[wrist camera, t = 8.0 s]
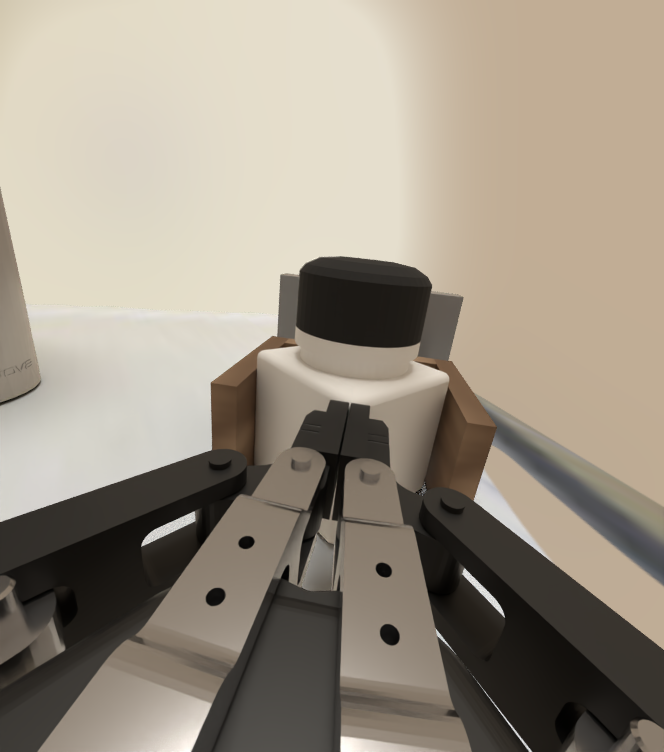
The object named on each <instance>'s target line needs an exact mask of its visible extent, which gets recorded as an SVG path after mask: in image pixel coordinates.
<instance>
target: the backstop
mask: <svg viewBox="0 0 664 752" xmlns="http://www.w3.org/2000/svg"><path fill="white" fill-rule="evenodd" d="M298 287H299V275H294V274H282V275H281V276H280V295H279V296H280V297H279V315H278V334H277V337H282V338H289V339H295V330H296V316H297V301H298ZM462 302H463V297H462V296H460V295H458V294H449V293H441V292H432V291H431V294H430V299H429V303H428V308H427V313H426V318H425V323H424V328H423V332H422V337H421V342H420V347H419V352H418V356H417V357H425V358H432V359H439V360H446V361H448V359H449V355H450V351H451V347H452V343H453V339H454V334H455V330H456V326H457V322H458V317H459V314H460V309H461V306H462Z"/></svg>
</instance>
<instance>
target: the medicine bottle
mask: <svg viewBox="0 0 664 752" xmlns="http://www.w3.org/2000/svg"><path fill="white" fill-rule="evenodd" d="M431 289H432V284H431V282H430V281H429V279H428V277H427V276H425V275H424V274H423V273H421V272H420V271H419V270H417V269H416V268H413V267H409V266H406V265H402V264H398V263H394V262H385V261H378V260H370V259H361V258H352V257H341V256H336V257H318V258H316V259H314V260H311V261H309V262H307V263H305V264H304V265H303V266H302V268H301V269H300V273H299V287H298V301H297V316H296V330H295V342H296V344H297V345H298V346H294V347H286V348H278V349H269V350H262V351H261V352H259V353H258V356H257V378H256V411H255V444H254V465H268V464H273V462H274V461H275V459H276V458H277V456H278V455H279V454H280V453H281V452H282V451H284V450H286V449H289V448H291V446H292V444H293V442H294V440H295V438H296V436H297V434H298V431H299V430H300V427H301V425H302V424H303V421H304V419H305V416H306V415H307V414H309V413H310V412H312V411H313V410H319V411H325V412H326V410H327V407H328V405H329V402H330V399H331V400H337V401H343V402H349V410H350V405H351V403H357V404H363V405H369V406H370V415H369V419H376V420H382V421H383V422H384V423H385V424H386V426H387V427H388V428H389V448H390V468H391V470H392V471H393V472H394V475H395V479H396V482H397V483H398V484H400V485H401V486H402V487H404V488H406V489H407V490H409V491H411V492H414V493H415V492H417V491H418V490H420V489H421V488H422V486H423V484H424V480H425V476H426V472H427V468H428V464H429V460H430V456H431V452H432V448H433V444H434V440H435V436H436V432H437V428H438V424H439V420H440V416H441V412H442V408H443V404H444V400H445V396H446V392H447V388H448V384H449V376H448V375H447V373H445V372H442V371H439V370H436V369H434V368H431V367H428V366H426V365H423V364H420V363H417V362H415V361H413V360H414V359H416V358H417V356H418V352H419V347H420V342H421V337H422V332H423V328H424V323H425V318H426V313H427V308H428V303H429V299H430V294H431ZM349 410H348V415H349ZM347 420H348V417H347ZM346 425H347V424H346ZM336 485H337V483H336ZM335 492H336V488H335ZM334 499H335V493H334V498H333V504H332V509H331V514H330V519H329V520H328V519H323V518H322V521H321V526H320V529H319V531H318V532H319V533H320V534H321V535H322V536H323V537H324V538H325V539H326V541H327V542H329V543H331V544H334V543H335V536H336V529H337V522H338V521H334V520H332V514H333V507H334Z"/></svg>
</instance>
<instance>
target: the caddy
mask: <svg viewBox="0 0 664 752" xmlns="http://www.w3.org/2000/svg"><path fill="white" fill-rule="evenodd" d="M294 346H298V345H297V344H296V342H295V339H289V338H282V337H275V336H272V337H271V338H269V339H268V340H267V341H265V342H264V343H263V344H261V345H260V346H259V347H257V348H256V349H255V350H253V351H252V352H251V353H249V354H248V355H247V356H245V357H244V358H243V359H242V360H240V361H239V362H238V363H236V364H235V365H234V366H232V367H231V368H230V369H228V370H227V371H226V372H224V373H223V374H222V375H220V376H219V377H218V378H216V379H215V380H214V381H212V382H211V414H212V450H216V449H231V450H235V451H238V452H240V453H242V454H243V455H244V456H245V457H246V459H247V466H254V444H255V411H256V378H257V356H258V353H259V352H261V351H262V350H269V349H278V348H286V347H294ZM413 361H415V362H417V363H420V364H423V365H426V366H428V367H431V368H434V369H436V370H439V371H442V372H445V373H447V375H448V376H449V384H448V388H447V392H446V396H445V400H444V404H443V408H442V412H441V416H440V420H439V424H438V428H437V432H436V436H435V440H434V444H433V448H432V452H431V456H430V460H429V464H428V468H427V472H426V476H425V481H426V486H427V491H428V490H429V489H431V488H435V487H445V488H450V489H453V490H456V491H459V492H461V493H463V494H464V495H466V496H467V497H469V498H470V499H471V500H474V497H475V494H476V491H477V488H478V485H479V482H480V478H481V475H482V472H483V469H484V466H485V463H486V459H487V457H488V453H489V450H490V447H491V444H492V441H493V438H494V435H495V432H496V429H497V427H496V425H495V424H494V422H493V421H492V419H491V418H490V416H489V415H488V413H487V412H486V410H485V409H484V408H483V406H482V405H481V403H480V402H479V400H478V399H477V397H476V396H475V394H474V393H473V392H472V390H471V389H470V387H469V386H468V384H467V383H466V381H465V380H464V378H463V377H462V375H461V374H460V373H459V371H458V370H457V368H456V367H455V365H454V364H453V362H452V361H446V360H439V359H432V358H425V357H417V358H416V359H414V360H413Z"/></svg>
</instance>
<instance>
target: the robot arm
mask: <svg viewBox="0 0 664 752" xmlns="http://www.w3.org/2000/svg"><path fill="white" fill-rule="evenodd" d="M40 380H41V375H40V371H39V366H38V361H37V357H36V352H35V347H34V343H33V338H32V333H31V328H30V323H29V318H28V314H27V309H26V304H25V300H24V295H23V291H22V286H21V282H20V277H19V272H18V268H17V263H16V258H15V254H14V250H13V245H12V240H11V235H10V231H9V226H8V222H7V217H6V212H5V208H4V203H3V198H2V194H1V189H0V402H3V401H6V400H9V399H12V398H15V397H17V396H19V395H21V394H24V393H26V392H28V391H29V390H31V389H33V388H34V387H36V386H37V384H38V383H39V382H40ZM348 410H349V402H343V401H337V400H331V399H330V402H329V405H328V407H327V410H326V412H325V411H319V410H313V411H312V412H310V413H309V414H307V415H306V416H305V419H304V421H303V424H302V425H301V427H300V430H299V431H298V434H297V436H296V438H295V440H294V442H293V444H292V446H291V448H289V449H286V450H284V451H282V452H281V453H280V454H279V455H278V456H277V458H276V459H275V461H274V462H273V464H268V465H255V466H247V459H246V457H245V456H244V455H243V454H242V453H240V452H238V451H235V450H231V449H216V450H211V451H208V452H205V453H202V454H199V455H196V456H193V457H190V458H187V459H185V460H182V461H179V462H176V463H173V464H170V465H167V466H164V467H161V468H158V469H155V470H152V471H149V472H146V473H143V474H140V475H138V476H135V477H132V478H129V479H126V480H123V481H120V482H117V483H114V484H111V485H108V486H105V487H102V488H99V489H96V490H93V491H91V492H88V493H85V494H82V495H79V496H76V497H73V498H70V499H67V500H64V501H61V502H58V503H55V504H52V505H49V506H46V507H44V508H41V509H38V510H35V511H32V512H29V513H26V514H23V515H20V516H17V517H14V518H11V519H8V520H5V521H2V522H0V752H529V751H528V750H527V748H526V747H525V746H524V744H523V743H522V742H521V740H520V739H519V738H518V736H517V735H516V734H515V732H514V731H513V730H512V728H511V727H510V725H509V724H508V723H507V721H506V720H505V719H504V717H503V716H502V715H501V713H500V712H499V711H498V709H497V708H496V707H495V705H496V706H497V707H498V708H499V710H500V711H501V712H502V714H503V715H504V716H505V717H506V719H507V720H508V721H509V722H510V724H511V725H512V726H513V728H514V729H515V730H516V731H517V733H518V734H519V735H520V737H521V738H522V739H523V740H524V742H525V743H526V744H527V746H528V747H529V748H530V749H531V751H532V752H664V650H663V649H662V648H661V647H659V646H658V645H657V644H655V643H654V642H653V641H652V640H650V639H649V638H648V637H647V636H645V635H644V634H643V633H641V632H640V631H639V630H638V629H636V628H635V627H634V626H633V625H631V624H630V623H629V622H627V621H626V620H625V619H623V618H622V617H621V616H620V615H618V614H617V613H616V612H615V611H613V610H612V609H611V608H609V607H608V606H607V605H606V604H604V603H603V602H602V601H601V600H599V599H598V598H597V597H595V596H594V595H593V594H592V593H590V592H589V591H588V590H586V589H585V588H584V587H583V586H581V585H580V584H579V583H577V582H576V581H575V580H574V579H572V578H571V577H570V576H569V575H567V574H566V573H565V572H564V571H562V570H561V569H560V568H558V567H557V566H556V565H555V564H553V563H552V562H551V561H549V560H548V559H547V558H546V557H544V556H543V555H542V554H541V553H539V552H538V551H537V550H535V549H534V548H533V547H532V546H530V545H529V544H528V543H526V542H525V541H524V540H523V539H521V538H520V537H519V536H518V535H516V534H515V533H514V532H512V531H511V530H510V529H509V528H507V527H506V526H505V525H503V524H502V523H501V522H500V521H498V520H497V519H496V518H494V517H493V516H492V515H491V514H489V513H488V512H487V511H486V510H484V509H483V508H482V507H480V506H479V505H478V504H477V503H475V502H474V501H473V500H471V499H470V498H469V497H467V496H466V495H464V494H463V493H461V492H459V491H456V490H453V489H450V488H445V487H435V488H431V489H429V490H428V491H426V492H425V494H424V496H421V495H419V494H416V493H414V492H411V491H409V490H407V489H406V488H404V487H402V486H401V485H400V484H398V483H397V482H396V479H395V475H394V472H393V471H392V470H391V468H390V448H389V428H388V427H387V426H386V424H385V423H384V422H383V421H382V420H376V419H369V415H370V406H369V405H363V404H357V403H351V405H350V410H349V415H348ZM347 417H348V420H347ZM346 424H347V425H346ZM336 483H337V485H336ZM335 488H336V492H335ZM334 493H335V499H334V507H333V514H332V520H334V521H338V522H337V529H336V536H335V543H334V555H333V569H332V584H331V591H316V592H313V591H307V590H305V589H303V588H301V587H302V583H303V580H304V577H305V574H306V571H307V568H308V565H309V562H310V559H311V556H312V553H313V549H314V546H315V543H316V539H317V532H318V531H319V529H320V526H321V521H322V518H323V519H328V520H329V519H330V514H331V509H332V504H333V498H334ZM194 511H195V520H196V521H195V522H193V523H191V524H189V525H187V526H185V527H183V528H180V529H178V530H176V531H174V532H172V533H170V534H168V535H166V536H164V537H161V538H159V539H157V540H155V541H153V542H151V543H149V544H147V545H145V546H142V547H141V545H142V542H143V540H144V539H145V537H146V536H147V535H148V534H149V533H150V532H151V531H153V530H154V529H156V528H158V527H161V526H163V525H165V524H167V523H169V522H172V521H174V520H176V519H178V518H180V517H183V516H185V515H187V514H189V513H191V512H194ZM464 568H465V569H466V570H467V571H468V572H469V573H470V574H471V575H472V576H473V577H474V578H475V579H476V580H477V581H478V582H479V583H480V584H481V585H482V586H483V587H484V588H485V589H486V590H487V591H488V592H489V593H490V594H491V595H492V596H493V597H494V598H495V599H496V600H497V601H498V603H499V604H500V606H501V608H502V610H503V612H504V615H505V618H504V617H503V616H502V615H501V614H500V613H499V612H498V611H497V610H496V609H495V608H494V607H493V605H492V604H491V603H490V602H489V601H488V600H487V599H486V598H485V597H484V596H483V595H482V594H481V593H480V592H479V591H478V590H477V589H476V588H475V587H474V586H473V585H472V584H471V583H470V582H469V581H468V580H467V579H466V578H465V577H464V576H463V575H462V573H463V570H464ZM435 628H436V629H437V630H438V632H439V633H440V634H441V635H442V637H443V638H444V639H445V641H446V642H447V643H448V644H449V646H450V647H451V648H452V650H453V651H454V652H455V653H456V654H455V653H454V652H453V651H452V650H451V649H450V648H449V647H448V646H447V645H446V644H445V643H444V642H443V641H442V640H441V639H440V638H439V637H438V636H437V634H436V629H435ZM458 657H459V658H460V659H459V658H458ZM466 667H467V668H466ZM469 671H470V672H469ZM472 675H473V676H474V677H473V676H472ZM475 679H476V680H477V681H476V680H475ZM478 683H479V684H480V685H481V686H480V685H479V684H478ZM481 687H482V688H483V689H484V690H485V692H486V693H487V694H488V696H489V697H490V698H491V699H492V701H493V702H494V703H495V705H494V704H493V703H492V701H491V700H490V699H489V697H488V696H487V695H486V693H485V692H484V690H483V689H482V688H481Z"/></svg>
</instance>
